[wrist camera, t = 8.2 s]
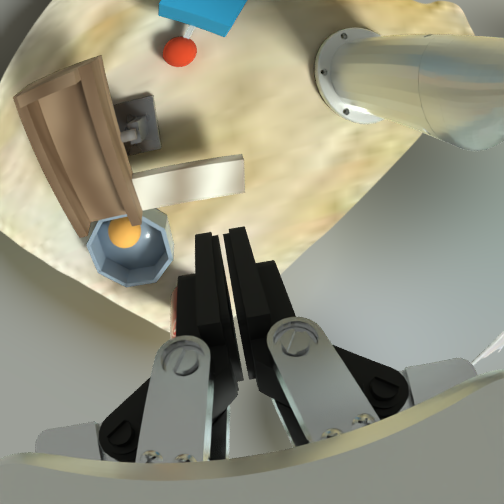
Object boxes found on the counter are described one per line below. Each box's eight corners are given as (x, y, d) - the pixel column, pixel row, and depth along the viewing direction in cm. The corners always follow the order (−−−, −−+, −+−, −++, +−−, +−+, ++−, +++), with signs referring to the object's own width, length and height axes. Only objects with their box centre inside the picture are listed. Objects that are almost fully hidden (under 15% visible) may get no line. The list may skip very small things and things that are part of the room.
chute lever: (236, 29, 17) (247, 35, 14) (242, 183, 30) (251, 212, 27) (20, 87, 15) (-5, 109, 12) (76, 216, 27) (67, 247, 24)
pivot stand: (153, 95, 26) (145, 98, 21) (161, 146, 29) (155, 160, 24) (56, 124, 24) (33, 134, 20) (67, 171, 28) (48, 189, 23)
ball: (140, 248, 30) (147, 240, 34) (132, 212, 29) (140, 208, 33) (107, 254, 29) (117, 246, 33) (100, 219, 28) (111, 215, 32)
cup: (162, 193, 32) (159, 205, 29) (179, 262, 38) (178, 278, 35) (86, 210, 31) (77, 223, 28) (111, 274, 37) (106, 290, 34)
